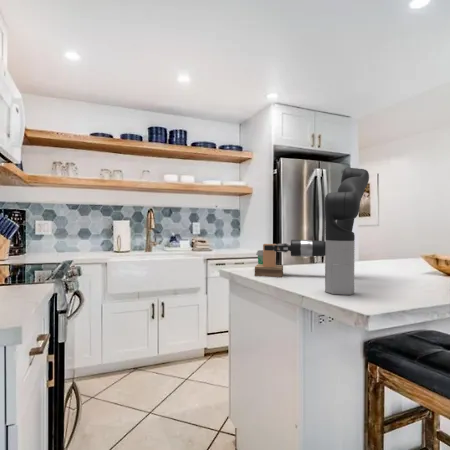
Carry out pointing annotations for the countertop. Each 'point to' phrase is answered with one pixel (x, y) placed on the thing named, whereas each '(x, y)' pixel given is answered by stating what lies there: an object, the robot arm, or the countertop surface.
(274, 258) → the orange brick
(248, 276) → the countertop surface
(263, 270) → the walnut base block
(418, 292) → the countertop surface
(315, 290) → the countertop surface
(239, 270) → the countertop surface
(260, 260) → the food container
